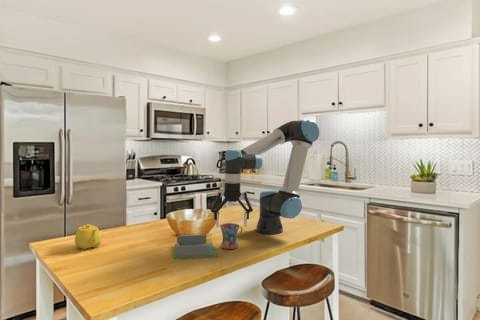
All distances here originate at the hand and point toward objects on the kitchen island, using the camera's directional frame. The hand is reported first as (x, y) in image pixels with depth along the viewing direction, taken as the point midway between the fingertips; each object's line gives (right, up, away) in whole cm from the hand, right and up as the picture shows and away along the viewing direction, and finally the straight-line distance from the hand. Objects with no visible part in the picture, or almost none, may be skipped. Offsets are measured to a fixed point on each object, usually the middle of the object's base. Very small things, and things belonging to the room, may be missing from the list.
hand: (231, 226), depth 155 cm
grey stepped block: (-17, -10, -6) cm, 20 cm away
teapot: (-67, -10, -2) cm, 68 cm away
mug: (0, -10, +1) cm, 10 cm away
